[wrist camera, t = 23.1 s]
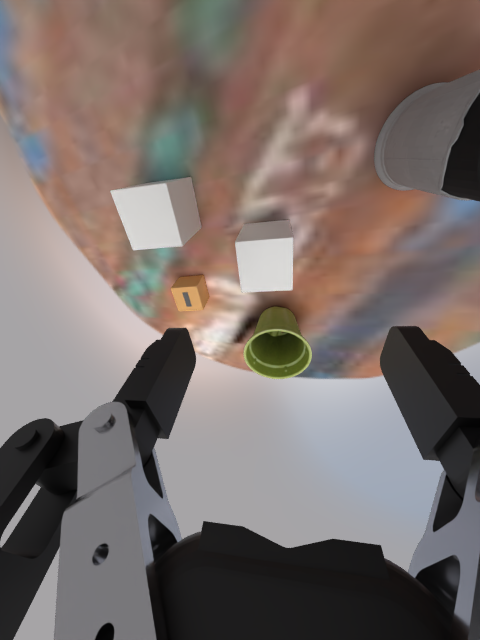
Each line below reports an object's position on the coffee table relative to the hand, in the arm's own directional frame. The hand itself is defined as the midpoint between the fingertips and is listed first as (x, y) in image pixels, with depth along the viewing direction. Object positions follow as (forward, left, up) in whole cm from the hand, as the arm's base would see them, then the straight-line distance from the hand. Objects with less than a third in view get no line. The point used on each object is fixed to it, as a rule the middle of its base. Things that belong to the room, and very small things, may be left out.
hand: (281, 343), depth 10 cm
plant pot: (+17, -1, -25) cm, 30 cm away
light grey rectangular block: (+4, -1, -25) cm, 25 cm away
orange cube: (+10, -14, -25) cm, 30 cm away
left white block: (-2, -13, -25) cm, 28 cm away
